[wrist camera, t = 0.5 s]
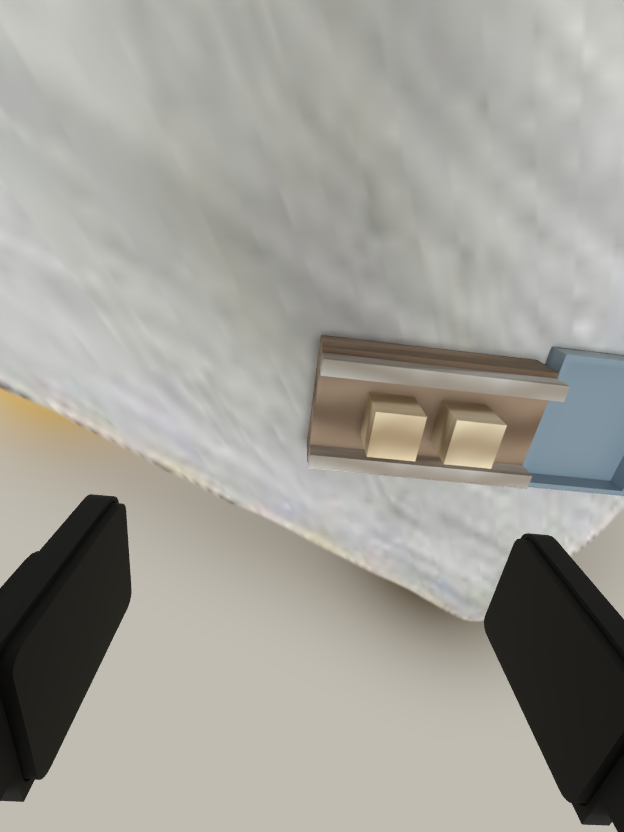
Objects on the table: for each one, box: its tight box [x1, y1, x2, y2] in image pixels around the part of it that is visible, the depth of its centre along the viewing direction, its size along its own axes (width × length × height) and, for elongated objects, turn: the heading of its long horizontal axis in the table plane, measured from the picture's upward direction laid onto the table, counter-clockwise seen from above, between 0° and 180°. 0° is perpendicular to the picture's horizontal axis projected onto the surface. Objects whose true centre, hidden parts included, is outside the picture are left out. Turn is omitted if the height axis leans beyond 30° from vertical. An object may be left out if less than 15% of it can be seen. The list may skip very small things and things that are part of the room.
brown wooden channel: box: [307, 335, 570, 489], centre depth 40 cm, size 12×22×6 cm, turn 83°
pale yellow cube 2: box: [430, 400, 507, 469], centre depth 37 cm, size 4×4×4 cm
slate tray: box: [523, 347, 624, 496], centre depth 43 cm, size 15×13×2 cm
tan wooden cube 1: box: [360, 392, 427, 461], centre depth 37 cm, size 4×4×4 cm
